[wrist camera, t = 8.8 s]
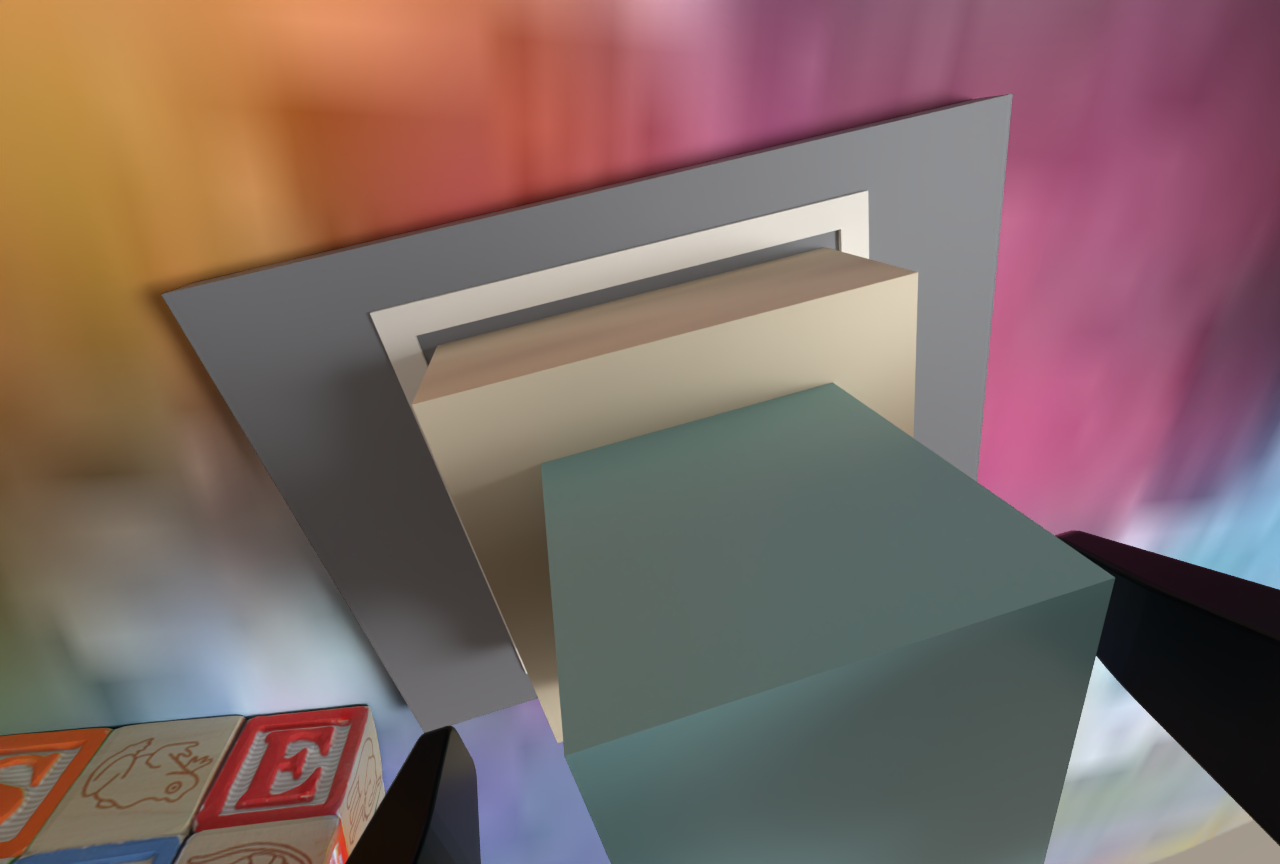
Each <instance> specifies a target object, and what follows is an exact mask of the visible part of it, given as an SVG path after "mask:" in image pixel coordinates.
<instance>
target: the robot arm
mask: <svg viewBox="0 0 1280 864" xmlns="http://www.w3.org/2000/svg"><path fill="white" fill-rule="evenodd" d="M1055 536H1056V537H1057V538H1059V539H1060V540H1061V541H1063V542H1064V543H1066V544H1067V545H1069V546H1070V547H1072V548H1073V549H1074V550H1076V551H1077V552H1079V553H1080V554H1082V555H1083V556H1085V557H1086V558H1087V559H1089V560H1090V561H1092V562H1093V563H1095V564H1096V565H1098V566H1099V567H1101V568H1102V569H1103V570H1105V571H1106V572H1108V573H1109V574H1111V575H1112V576H1114V577H1115V581H1114V585H1113V589H1112V593H1111V597H1110V601H1109V605H1108V609H1107V613H1106V617H1105V621H1104V625H1103V629H1102V633H1101V637H1100V641H1099V645H1098V649H1097V653H1096V656H1097V657H1098V658H1099V660H1100V661H1101V662H1102V663H1103V664H1104V666H1105V667H1106V668H1107V669H1108V670H1109V671H1110V673H1111V674H1112V675H1113V676H1114V677H1115V678H1116V679H1117V681H1118V682H1119V683H1120V684H1121V685H1122V686H1123V687H1124V688H1125V689H1126V690H1127V691H1128V692H1129V694H1130V695H1131V696H1132V697H1133V698H1134V699H1135V700H1136V701H1137V702H1138V703H1139V704H1140V705H1141V706H1142V707H1143V708H1144V709H1145V710H1146V711H1147V712H1148V713H1149V714H1150V715H1151V716H1152V717H1153V718H1154V719H1155V720H1156V721H1157V722H1158V723H1159V724H1160V725H1161V726H1162V727H1163V728H1164V729H1165V730H1166V731H1167V732H1168V733H1169V734H1170V735H1171V736H1172V737H1173V738H1174V739H1175V740H1176V741H1177V742H1178V743H1179V744H1180V745H1181V746H1182V748H1183V749H1184V750H1185V751H1186V752H1187V753H1188V754H1189V755H1190V756H1191V757H1192V758H1193V759H1194V760H1195V761H1196V762H1197V763H1198V764H1199V765H1200V766H1201V767H1202V768H1203V769H1204V770H1205V771H1206V772H1207V773H1208V774H1209V775H1210V776H1211V777H1212V778H1213V779H1214V780H1215V781H1216V782H1217V783H1218V784H1219V785H1220V786H1221V787H1222V788H1223V789H1224V790H1225V791H1226V792H1227V793H1228V794H1229V795H1230V796H1231V797H1232V798H1233V799H1234V800H1235V801H1236V802H1237V803H1238V804H1239V805H1240V806H1241V807H1242V808H1243V809H1244V810H1245V811H1246V812H1247V813H1248V814H1249V815H1250V816H1251V817H1252V818H1253V820H1254V821H1256V823H1257V824H1259V826H1261V828H1262V829H1263V830H1264V831H1265V832H1266V833H1267V834H1268V835H1269V836H1270V837H1271V838H1272V839H1273V840H1274V841H1275V842H1276V843H1277V844H1278V845H1279V846H1280V590H1279V589H1275V588H1272V587H1269V586H1265V585H1262V584H1258V583H1255V582H1252V581H1248V580H1245V579H1241V578H1238V577H1235V576H1231V575H1228V574H1224V573H1221V572H1218V571H1214V570H1211V569H1207V568H1204V567H1201V566H1197V565H1194V564H1190V563H1187V562H1184V561H1180V560H1177V559H1173V558H1170V557H1167V556H1163V555H1160V554H1156V553H1153V552H1150V551H1146V550H1143V549H1140V548H1136V547H1133V546H1129V545H1126V544H1123V543H1119V542H1116V541H1112V540H1109V539H1106V538H1102V537H1099V536H1095V535H1092V534H1089V533H1085V532H1081V531H1068V532H1065V533H1061V534H1058V535H1055ZM345 864H481V858H480V837H479V816H478V795H477V776H476V769H475V765H474V762H473V759H472V757H471V756H470V754H469V752H468V750H467V748H466V747H465V745H464V743H463V741H462V739H461V738H460V736H459V734H458V732H457V731H456V729H455V728H454V727H452V726H445V727H441V728H438V729H435V730H432V731H429V732H426V733H424V734H423V735H421V736H420V738H419V739H418V740H417V742H416V743H415V745H414V747H413V748H412V750H411V752H410V754H409V755H408V757H407V759H406V760H405V762H404V764H403V765H402V767H401V769H400V771H399V772H398V774H397V776H396V777H395V779H394V781H393V782H392V784H391V786H390V788H389V789H388V791H387V793H386V794H385V796H384V798H383V799H382V801H381V803H380V805H379V806H378V808H377V810H376V811H375V813H374V815H373V816H372V818H371V820H370V822H369V823H368V825H367V827H366V828H365V830H364V832H363V833H362V835H361V837H360V839H359V840H358V842H357V844H356V845H355V847H354V849H353V850H352V852H351V854H350V856H349V857H348V859H347V861H346V862H345Z"/></svg>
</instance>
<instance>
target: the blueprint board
mask: <svg viewBox="0 0 1280 864" xmlns="http://www.w3.org/2000/svg"><path fill="white" fill-rule="evenodd" d="M1012 95H1013V94H1007V95H1000V96H993V97H986V98H978V99H973V100H969V101H964V102H960V103H956V104H952V105H947V106H943V107H939V108H935V109H930V110H926V111H922V112H918V113H913V114H909V115H905V116H901V117H896V118H892V119H888V120H884V121H879V122H875V123H871V124H867V125H862V126H858V127H854V128H850V129H845V130H841V131H837V132H833V133H828V134H824V135H820V136H816V137H811V138H807V139H803V140H799V141H794V142H790V143H786V144H782V145H777V146H773V147H769V148H765V149H760V150H756V151H752V152H748V153H743V154H739V155H735V156H731V157H726V158H722V159H718V160H714V161H709V162H705V163H701V164H697V165H692V166H688V167H684V168H680V169H675V170H671V171H667V172H663V173H658V174H654V175H650V176H646V177H641V178H637V179H633V180H629V181H624V182H620V183H616V184H612V185H607V186H603V187H599V188H595V189H590V190H586V191H582V192H578V193H573V194H569V195H565V196H561V197H556V198H552V199H548V200H544V201H539V202H535V203H531V204H526V205H522V206H518V207H514V208H509V209H505V210H501V211H497V212H492V213H488V214H484V215H480V216H475V217H471V218H467V219H463V220H458V221H454V222H450V223H446V224H441V225H437V226H433V227H429V228H424V229H420V230H416V231H412V232H407V233H403V234H399V235H395V236H390V237H386V238H382V239H378V240H373V241H369V242H365V243H361V244H356V245H352V246H348V247H344V248H339V249H335V250H331V251H327V252H322V253H318V254H314V255H310V256H305V257H301V258H297V259H293V260H288V261H284V262H280V263H276V264H271V265H267V266H263V267H259V268H254V269H250V270H246V271H242V272H237V273H233V274H229V275H225V276H220V277H216V278H212V279H208V280H203V281H199V282H195V283H191V284H188V285H185V286H183V287H180V288H177V289H175V290H172V291H169V292H166V293H164V294H161V295H162V297H163V298H164V300H165V302H166V303H167V305H168V307H169V308H170V310H171V312H172V313H173V315H174V317H175V318H176V320H177V322H178V323H179V325H180V327H181V328H182V330H183V332H184V333H185V335H186V337H187V338H188V340H189V342H190V343H191V345H192V347H193V348H194V350H195V352H196V353H197V355H198V357H199V358H200V360H201V362H202V363H203V365H204V367H205V368H206V370H207V372H208V373H209V375H210V377H211V378H212V380H213V382H214V383H215V385H216V387H217V388H218V390H219V392H220V393H221V395H222V397H223V398H224V400H225V402H226V403H227V405H228V407H229V408H230V410H231V411H232V413H233V415H234V416H235V418H236V420H237V421H238V423H239V425H240V426H241V428H242V430H243V431H244V433H245V435H246V436H247V438H248V440H249V441H250V443H251V445H252V446H253V448H254V450H255V451H256V453H257V455H258V456H259V458H260V460H261V461H262V463H263V465H264V466H265V468H266V470H267V471H268V473H269V475H270V476H271V478H272V480H273V481H274V483H275V485H276V486H277V488H278V490H279V491H280V493H281V495H282V496H283V498H284V500H285V501H286V503H287V505H288V506H289V508H290V510H291V511H292V513H293V515H294V516H295V518H296V520H297V521H298V523H299V525H300V526H301V528H302V530H303V531H304V533H305V535H306V536H307V538H308V540H309V541H310V543H311V545H312V546H313V548H314V550H315V551H316V553H317V555H318V556H319V558H320V560H321V561H322V563H323V565H324V566H325V568H326V570H327V571H328V573H329V575H330V576H331V578H332V580H333V581H334V583H335V585H336V586H337V588H338V590H339V591H340V593H341V595H342V596H343V598H344V600H345V601H346V603H347V605H348V606H349V608H350V610H351V611H352V613H353V615H354V616H355V618H356V620H357V621H358V623H359V625H360V626H361V628H362V630H363V631H364V633H365V635H366V636H367V638H368V640H369V641H370V643H371V645H372V646H373V648H374V650H375V651H376V653H377V655H378V656H379V658H380V660H381V661H382V663H383V665H384V666H385V668H386V670H387V671H388V673H389V675H390V676H391V678H392V680H393V681H394V683H395V685H396V686H397V688H398V690H399V691H400V693H401V695H402V696H403V698H404V700H405V701H406V703H407V705H408V706H409V708H410V710H411V711H412V713H413V715H414V716H415V718H416V720H417V721H418V723H419V725H420V726H421V728H422V730H423V731H424V733H426V732H429V731H432V730H435V729H438V728H441V727H445V726H450V725H453V724H457V723H460V722H463V721H466V720H469V719H473V718H476V717H479V716H482V715H485V714H489V713H492V712H495V711H498V710H501V709H505V708H508V707H511V706H514V705H517V704H521V703H524V702H527V701H530V700H533V699H537V698H538V696H537V694H536V692H535V689H534V687H533V685H532V682H531V680H530V678H529V676H528V673H527V671H526V669H525V666H524V664H523V662H522V659H521V657H520V655H519V652H518V650H517V648H516V645H515V643H514V641H513V638H512V636H511V634H510V632H509V629H508V627H507V625H506V622H505V620H504V618H503V615H502V613H501V611H500V608H499V606H498V604H497V601H496V599H495V597H494V594H493V592H492V590H491V588H490V585H489V583H488V581H487V578H486V576H485V574H484V571H483V569H482V567H481V564H480V562H479V560H478V557H477V555H476V553H475V550H474V548H473V546H472V544H471V541H470V539H469V537H468V534H467V532H466V530H465V527H464V525H463V523H462V520H461V518H460V516H459V513H458V511H457V509H456V506H455V504H454V502H453V500H452V497H451V495H450V493H449V490H448V488H447V486H446V483H445V481H444V479H443V476H442V474H441V472H440V469H439V467H438V465H437V462H436V460H435V458H434V456H433V453H432V451H431V449H430V446H429V444H428V442H427V439H426V437H425V435H424V432H423V430H422V428H421V425H420V423H419V421H418V418H417V416H416V414H415V412H414V409H413V407H412V403H413V400H414V398H415V396H416V394H417V391H418V389H419V387H420V384H421V382H422V380H423V377H424V375H425V373H426V371H427V368H428V366H429V364H430V361H431V359H432V357H433V354H434V352H435V350H436V347H437V346H438V345H442V344H445V343H449V342H453V341H457V340H461V339H465V338H469V337H473V336H477V335H481V334H485V333H489V332H493V331H497V330H501V329H505V328H509V327H513V326H516V325H520V324H524V323H528V322H532V321H536V320H540V319H544V318H548V317H552V316H556V315H560V314H564V313H568V312H572V311H576V310H580V309H584V308H587V307H591V306H595V305H599V304H603V303H607V302H611V301H615V300H619V299H623V298H627V297H631V296H635V295H639V294H643V293H647V292H651V291H655V290H658V289H662V288H666V287H670V286H674V285H678V284H682V283H686V282H690V281H694V280H698V279H702V278H706V277H710V276H714V275H718V274H722V273H726V272H729V271H733V270H737V269H741V268H745V267H749V266H753V265H757V264H761V263H765V262H769V261H773V260H777V259H781V258H785V257H789V256H793V255H797V254H800V253H804V252H808V251H812V250H816V249H820V248H824V247H827V248H830V249H834V250H838V251H841V252H845V253H849V254H852V255H856V256H860V257H863V258H867V259H871V260H875V261H878V262H882V263H886V264H889V265H893V266H897V267H900V268H904V269H908V270H912V271H915V272H918V299H917V334H916V369H915V405H914V439H915V440H917V441H918V442H920V443H921V444H923V445H924V446H926V447H927V448H928V449H930V450H931V451H933V452H934V453H936V454H937V455H939V456H940V457H941V458H943V459H944V460H946V461H947V462H949V463H950V464H952V465H953V466H954V467H956V468H957V469H959V470H960V471H962V472H963V473H965V474H966V475H967V476H969V477H970V478H972V479H973V480H975V481H976V482H977V475H978V464H979V454H980V443H981V432H982V421H983V410H984V399H985V388H986V378H987V367H988V356H989V345H990V334H991V323H992V312H993V302H994V291H995V280H996V269H997V258H998V247H999V236H1000V226H1001V215H1002V204H1003V193H1004V182H1005V171H1006V160H1007V150H1008V139H1009V128H1010V117H1011V106H1012Z"/></svg>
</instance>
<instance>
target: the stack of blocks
mask: <svg viewBox="0 0 1280 864" xmlns="http://www.w3.org/2000/svg"><path fill="white" fill-rule="evenodd" d="M384 796H385V790H384V783H383V780H382V764H381V757H380V750H379V744H378V739H377V733H376V728H375V723H374V720H373V716H372V712H371V709H370V707H369V706H356V707H347V708H337V709H328V710H318V711H309V712H299V713H288V714H278V715H271V716H256V717H254V718H251V719H249V720H247V719H246V718H245V717H243V716H223V717H211V718H200V719H189V720H176V721H165V722H155V723H144V724H137V725H130V726H124V727H121V728H118V729H115V730H114V729H110V728H89V729H77V730H66V731H56V732H45V733H30V734H17V735H7V736H0V864H345V862H346V861H347V859H348V857H349V856H350V854H351V852H352V850H353V849H354V847H355V845H356V844H357V842H358V840H359V839H360V837H361V835H362V833H363V832H364V830H365V828H366V827H367V825H368V823H369V822H370V820H371V818H372V816H373V815H374V813H375V811H376V810H377V808H378V806H379V805H380V803H381V801H382V799H383V798H384Z"/></svg>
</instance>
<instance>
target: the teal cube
mask: <svg viewBox="0 0 1280 864" xmlns="http://www.w3.org/2000/svg"><path fill="white" fill-rule="evenodd" d="M541 474H542V486H543V498H544V511H545V523H546V535H547V548H548V560H549V572H550V584H551V597H552V609H553V621H554V634H555V646H556V658H557V671H558V683H559V695H560V707H561V720H562V732H563V744H564V756H565V758H566V761H567V763H568V765H569V768H570V770H571V772H572V775H573V777H574V779H575V782H576V784H577V786H578V788H579V791H580V793H581V795H582V798H583V800H584V802H585V805H586V807H587V809H588V812H589V814H590V816H591V818H592V821H593V823H594V825H595V828H596V830H597V832H598V835H599V837H600V839H601V841H602V844H603V846H604V848H605V851H606V853H607V855H608V858H609V860H610V862H611V864H1044V861H1045V857H1046V853H1047V849H1048V845H1049V841H1050V837H1051V833H1052V829H1053V825H1054V821H1055V817H1056V813H1057V809H1058V805H1059V801H1060V797H1061V793H1062V789H1063V785H1064V781H1065V777H1066V773H1067V769H1068V765H1069V761H1070V757H1071V753H1072V749H1073V745H1074V741H1075V737H1076V733H1077V729H1078V725H1079V721H1080V717H1081V713H1082V709H1083V705H1084V701H1085V697H1086V693H1087V689H1088V685H1089V681H1090V677H1091V673H1092V669H1093V665H1094V661H1095V657H1096V653H1097V649H1098V645H1099V641H1100V637H1101V633H1102V629H1103V625H1104V621H1105V617H1106V613H1107V609H1108V605H1109V601H1110V597H1111V593H1112V589H1113V585H1114V581H1115V577H1114V576H1112V575H1111V574H1109V573H1108V572H1106V571H1105V570H1103V569H1102V568H1101V567H1099V566H1098V565H1096V564H1095V563H1093V562H1092V561H1090V560H1089V559H1087V558H1086V557H1085V556H1083V555H1082V554H1080V553H1079V552H1077V551H1076V550H1074V549H1073V548H1072V547H1070V546H1069V545H1067V544H1066V543H1064V542H1063V541H1061V540H1060V539H1059V538H1057V537H1056V536H1054V535H1053V534H1051V533H1050V532H1048V531H1047V530H1046V529H1044V528H1043V527H1041V526H1040V525H1038V524H1037V523H1035V522H1034V521H1033V520H1031V519H1030V518H1028V517H1027V516H1025V515H1024V514H1022V513H1021V512H1020V511H1018V510H1017V509H1015V508H1014V507H1012V506H1011V505H1009V504H1008V503H1007V502H1005V501H1004V500H1002V499H1001V498H999V497H998V496H996V495H995V494H993V493H992V492H991V491H989V490H988V489H986V488H985V487H983V486H982V485H980V484H979V483H978V482H976V481H975V480H973V479H972V478H970V477H969V476H967V475H966V474H965V473H963V472H962V471H960V470H959V469H957V468H956V467H954V466H953V465H952V464H950V463H949V462H947V461H946V460H944V459H943V458H941V457H940V456H939V455H937V454H936V453H934V452H933V451H931V450H930V449H928V448H927V447H926V446H924V445H923V444H921V443H920V442H918V441H917V440H915V439H914V438H912V437H911V436H910V435H908V434H907V433H905V432H904V431H902V430H901V429H899V428H898V427H897V426H895V425H894V424H892V423H891V422H889V421H888V420H886V419H885V418H884V417H882V416H881V415H879V414H878V413H876V412H875V411H873V410H872V409H871V408H869V407H868V406H866V405H865V404H863V403H862V402H860V401H859V400H858V399H856V398H855V397H853V396H852V395H850V394H849V393H847V392H846V391H845V390H843V389H842V388H840V387H839V386H837V385H836V384H834V383H833V382H832V383H829V384H825V385H822V386H818V387H814V388H811V389H807V390H804V391H800V392H796V393H793V394H789V395H786V396H782V397H778V398H775V399H771V400H768V401H764V402H760V403H757V404H753V405H750V406H746V407H742V408H739V409H735V410H732V411H728V412H724V413H721V414H717V415H714V416H710V417H706V418H703V419H699V420H696V421H692V422H688V423H685V424H681V425H678V426H674V427H670V428H667V429H663V430H660V431H656V432H652V433H649V434H645V435H642V436H638V437H634V438H631V439H627V440H624V441H620V442H616V443H613V444H609V445H606V446H602V447H598V448H595V449H591V450H587V451H584V452H580V453H577V454H573V455H569V456H566V457H562V458H559V459H555V460H551V461H548V462H544V463H541Z"/></svg>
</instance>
